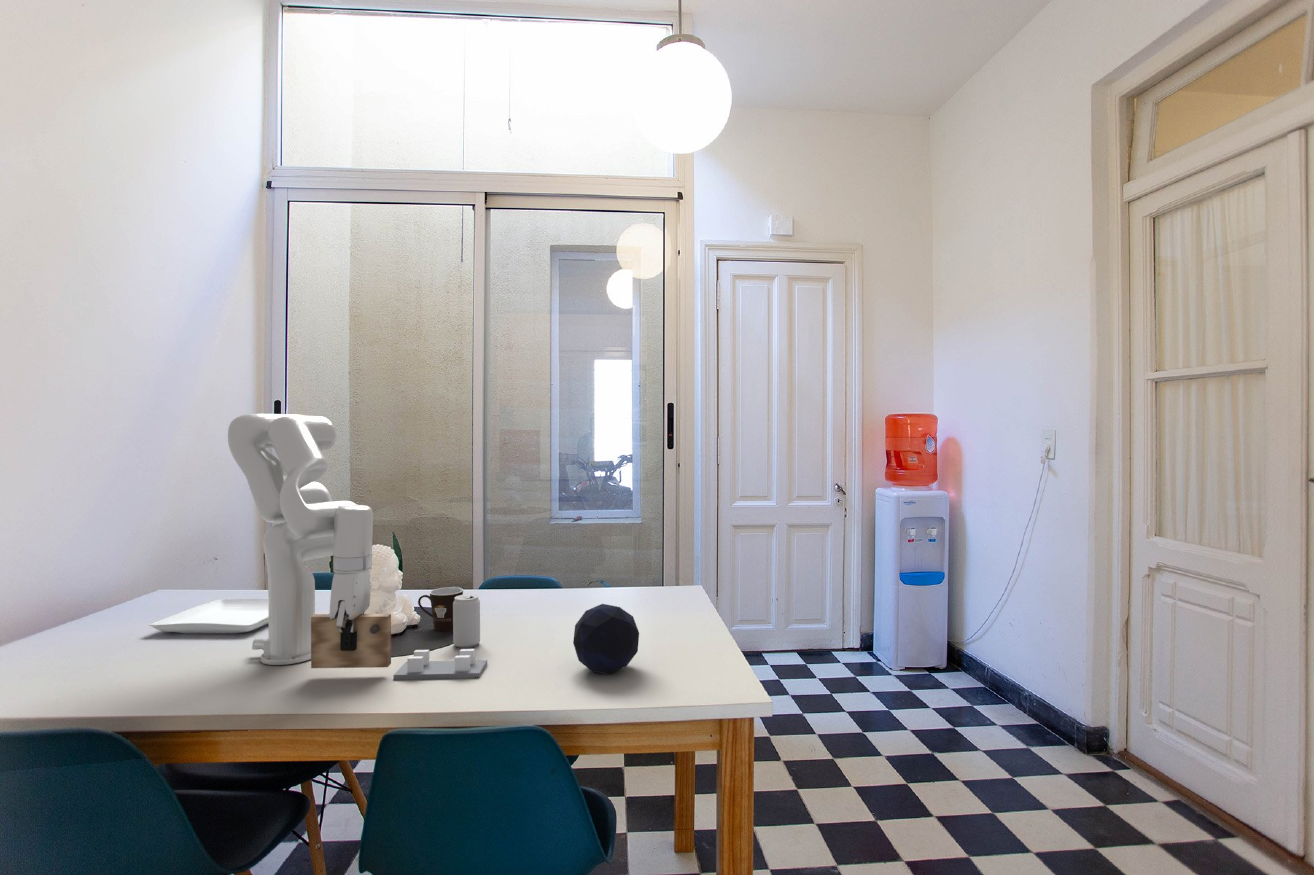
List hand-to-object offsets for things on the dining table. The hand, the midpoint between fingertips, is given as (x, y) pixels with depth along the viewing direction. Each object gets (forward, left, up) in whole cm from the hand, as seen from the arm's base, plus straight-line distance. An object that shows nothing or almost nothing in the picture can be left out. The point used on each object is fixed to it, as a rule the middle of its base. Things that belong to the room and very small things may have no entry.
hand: (351, 647), depth 137 cm
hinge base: (+19, +1, -6) cm, 20 cm away
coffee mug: (+10, +34, -6) cm, 36 cm away
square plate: (-50, +43, -7) cm, 67 cm away
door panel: (0, 0, -4) cm, 4 cm away
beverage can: (+20, +19, -6) cm, 28 cm away
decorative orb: (+55, 0, -6) cm, 55 cm away
